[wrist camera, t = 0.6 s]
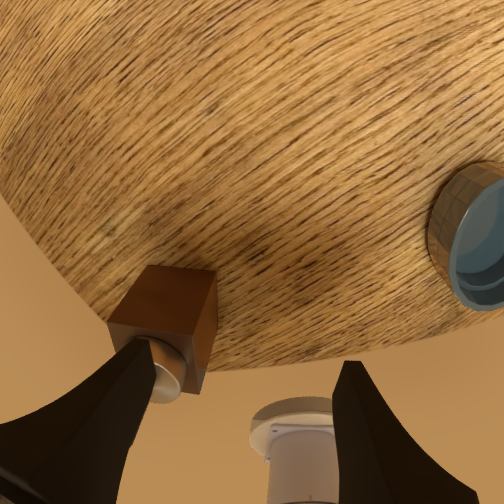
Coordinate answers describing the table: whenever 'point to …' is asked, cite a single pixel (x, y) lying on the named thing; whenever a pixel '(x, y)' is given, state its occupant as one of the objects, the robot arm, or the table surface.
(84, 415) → the robot arm
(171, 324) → the brown block
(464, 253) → the bowl
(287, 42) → the table surface
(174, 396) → the disc with handle
